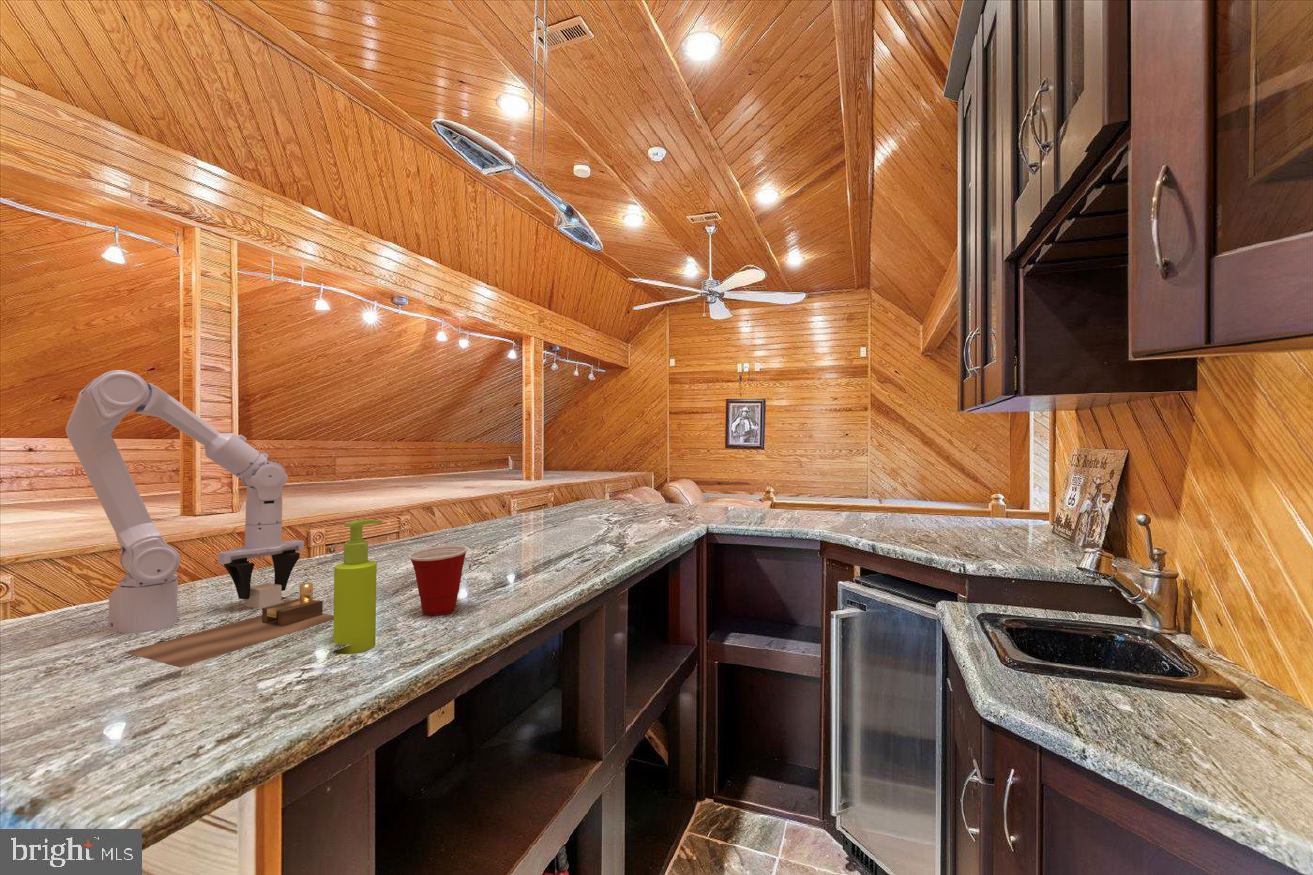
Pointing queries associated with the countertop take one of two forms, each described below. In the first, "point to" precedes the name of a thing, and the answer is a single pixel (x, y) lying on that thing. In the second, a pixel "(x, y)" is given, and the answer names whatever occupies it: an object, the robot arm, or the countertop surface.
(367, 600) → the soap dispenser
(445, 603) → the plastic cup
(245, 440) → the robot arm
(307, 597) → the brass bolt
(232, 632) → the box base
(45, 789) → the countertop surface
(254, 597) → the cover
